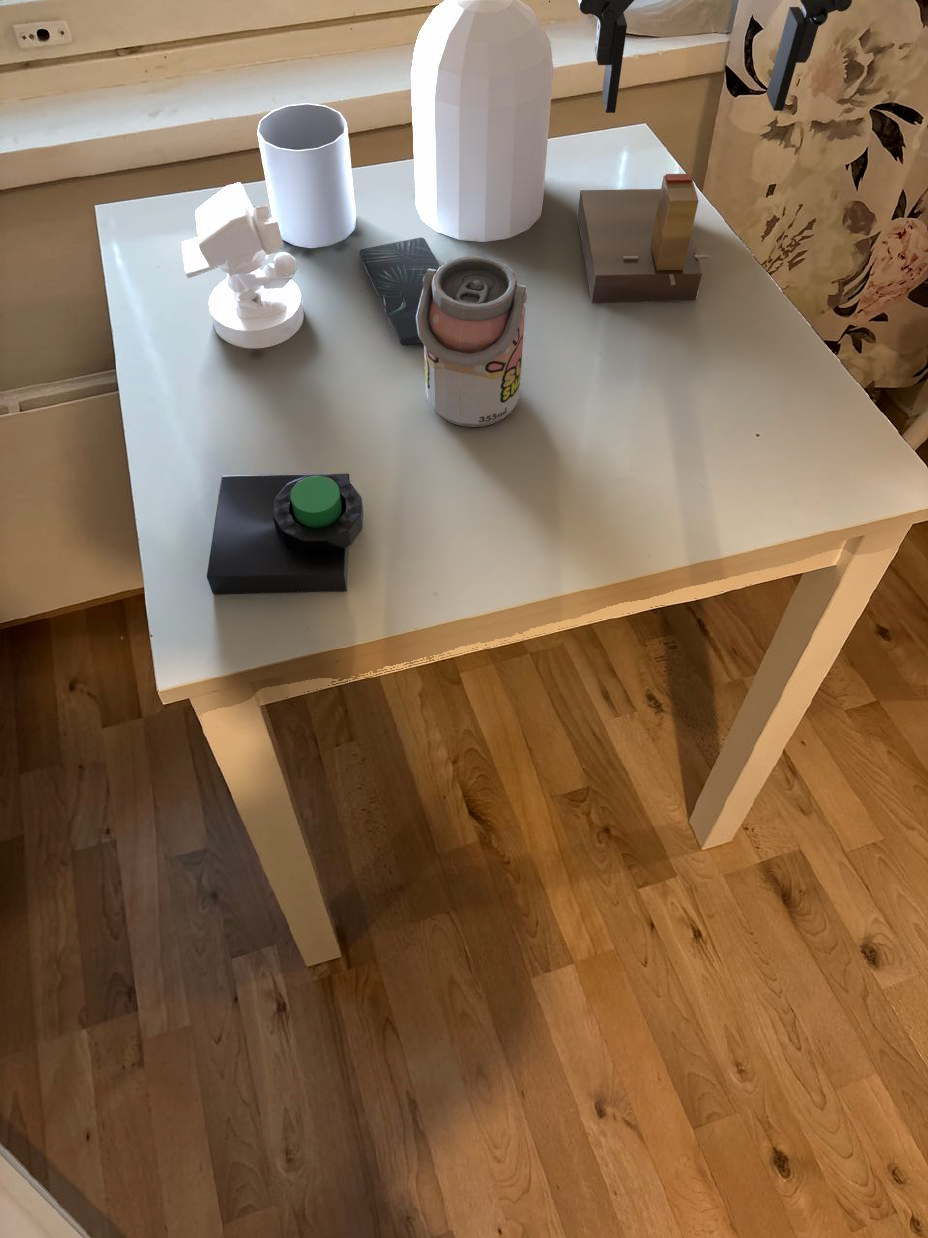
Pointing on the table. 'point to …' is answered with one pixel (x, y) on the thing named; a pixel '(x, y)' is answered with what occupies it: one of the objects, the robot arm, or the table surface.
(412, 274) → the smartphone
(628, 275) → the plate
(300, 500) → the open button
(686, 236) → the tan wooden block
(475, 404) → the beverage can
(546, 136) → the container
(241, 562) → the box
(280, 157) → the cup
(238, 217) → the character figurine
